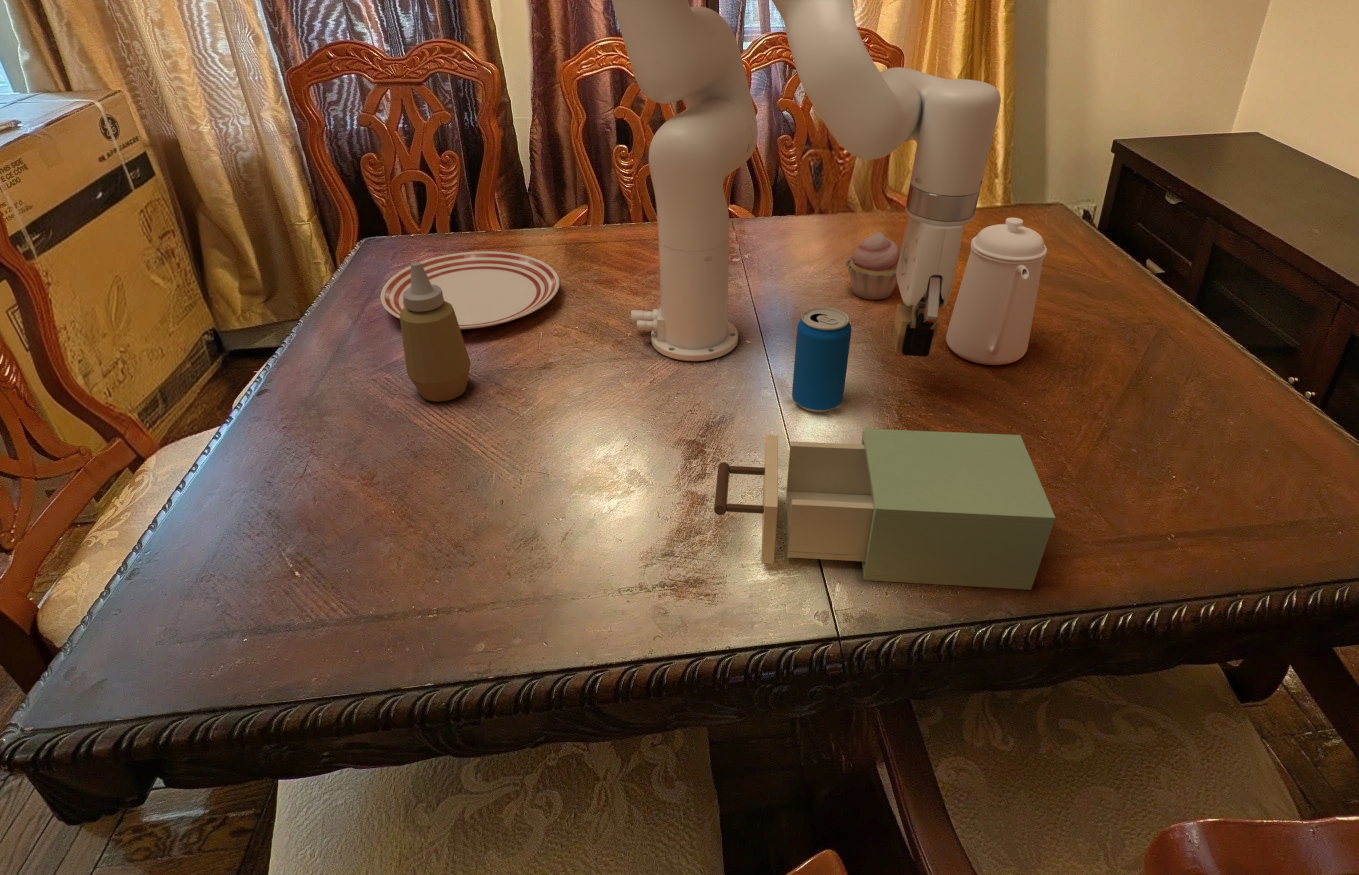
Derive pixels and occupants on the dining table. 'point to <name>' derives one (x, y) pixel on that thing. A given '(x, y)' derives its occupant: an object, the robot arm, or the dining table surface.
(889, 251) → the cupcake
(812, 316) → the beverage can
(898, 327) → the block
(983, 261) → the coffeepot
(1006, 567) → the cabinet
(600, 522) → the dining table surface
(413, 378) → the squeeze bottle
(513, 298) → the dinner plate
